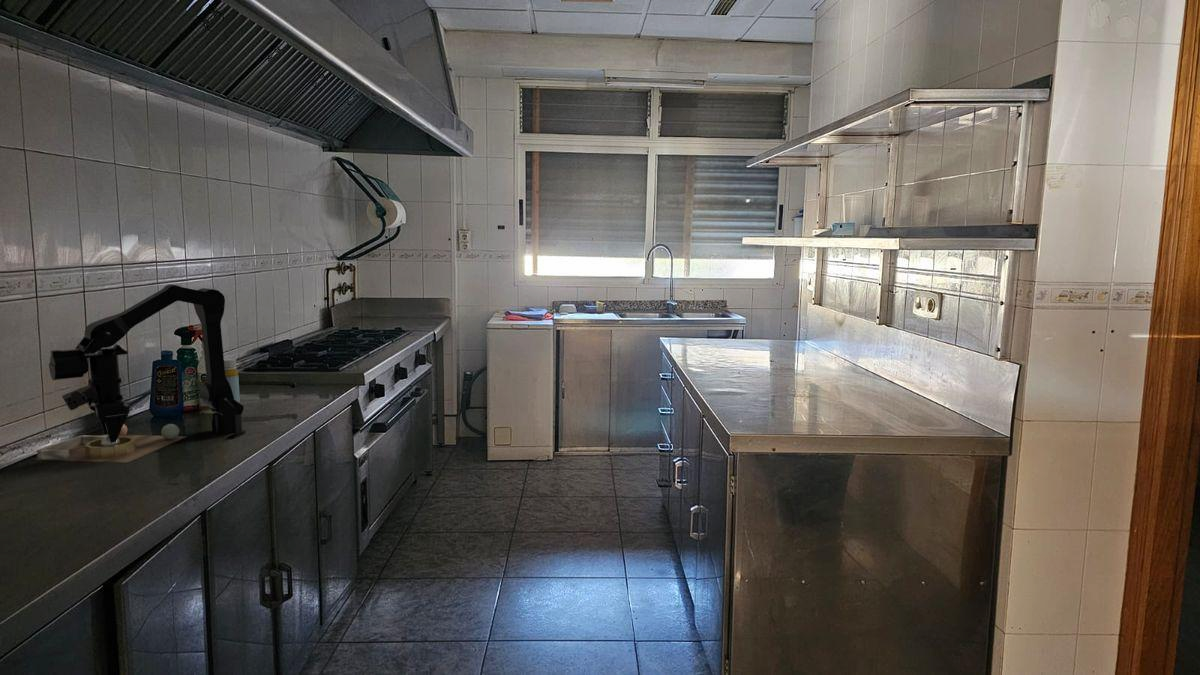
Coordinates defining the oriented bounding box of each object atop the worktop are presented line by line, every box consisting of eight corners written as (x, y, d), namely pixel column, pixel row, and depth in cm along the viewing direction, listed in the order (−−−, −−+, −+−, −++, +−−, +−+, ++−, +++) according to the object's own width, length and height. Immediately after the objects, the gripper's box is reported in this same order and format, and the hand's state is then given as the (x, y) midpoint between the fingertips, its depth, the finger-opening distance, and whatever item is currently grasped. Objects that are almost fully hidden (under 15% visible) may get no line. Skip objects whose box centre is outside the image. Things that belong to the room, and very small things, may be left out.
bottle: (223, 409, 227) (220, 361, 225) (210, 406, 231) (207, 359, 229) (244, 405, 233) (241, 358, 231) (231, 402, 237) (229, 356, 235)
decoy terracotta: (131, 436, 191) (130, 421, 191) (120, 440, 187) (119, 425, 187) (117, 435, 192) (115, 420, 191) (105, 439, 188) (104, 424, 187)
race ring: (145, 446, 182) (144, 436, 182) (116, 458, 172) (115, 448, 172) (106, 445, 182) (105, 435, 182) (75, 457, 173) (74, 447, 172)
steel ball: (124, 449, 179) (123, 433, 179) (113, 454, 175) (111, 438, 175) (109, 449, 179) (107, 433, 179) (97, 454, 175) (95, 437, 175)
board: (187, 440, 192) (186, 429, 191) (127, 467, 169) (126, 453, 169) (104, 438, 193) (103, 426, 193) (34, 464, 171) (33, 451, 170)
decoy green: (183, 437, 191) (182, 422, 190) (173, 441, 187) (172, 426, 186) (168, 437, 191) (167, 422, 190) (158, 441, 187) (157, 425, 186)
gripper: (58, 372, 176) (64, 435, 178) (68, 384, 162) (74, 452, 165) (113, 367, 184) (118, 428, 186) (127, 378, 170) (132, 443, 172)
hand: (110, 437), depth 177 cm, fingers open, 9 cm apart
